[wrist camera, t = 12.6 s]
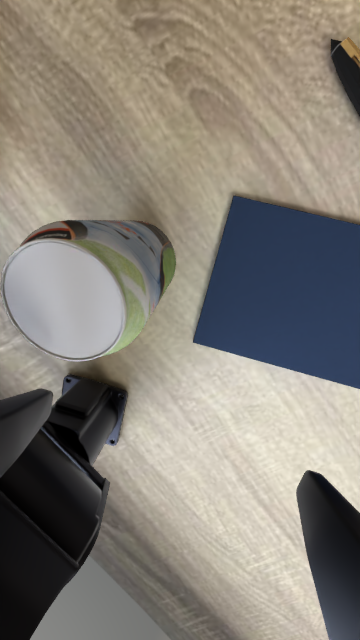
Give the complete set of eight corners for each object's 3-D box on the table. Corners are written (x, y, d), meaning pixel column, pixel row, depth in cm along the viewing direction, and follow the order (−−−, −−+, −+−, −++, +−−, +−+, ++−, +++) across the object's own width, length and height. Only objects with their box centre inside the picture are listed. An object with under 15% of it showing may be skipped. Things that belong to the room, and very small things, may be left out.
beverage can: (164, 212, 18) (84, 131, 7) (192, 300, 20) (165, 354, 8) (95, 239, 20) (-71, 209, 8) (126, 320, 21) (23, 392, 10)
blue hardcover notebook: (423, 405, 19) (428, 408, 19) (193, 341, 21) (192, 342, 20) (512, 262, 16) (520, 262, 16) (233, 196, 17) (233, 194, 17)
